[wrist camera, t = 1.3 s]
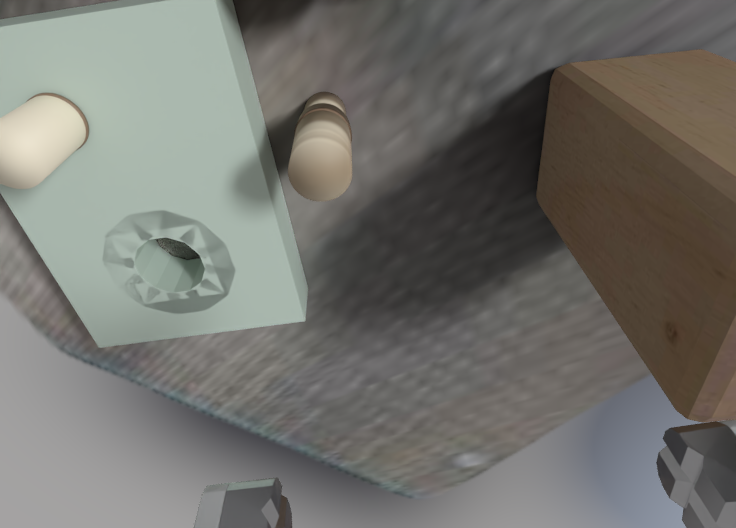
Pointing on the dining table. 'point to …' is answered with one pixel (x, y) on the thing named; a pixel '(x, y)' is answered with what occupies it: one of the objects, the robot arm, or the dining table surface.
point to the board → (146, 169)
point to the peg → (321, 149)
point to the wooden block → (653, 209)
